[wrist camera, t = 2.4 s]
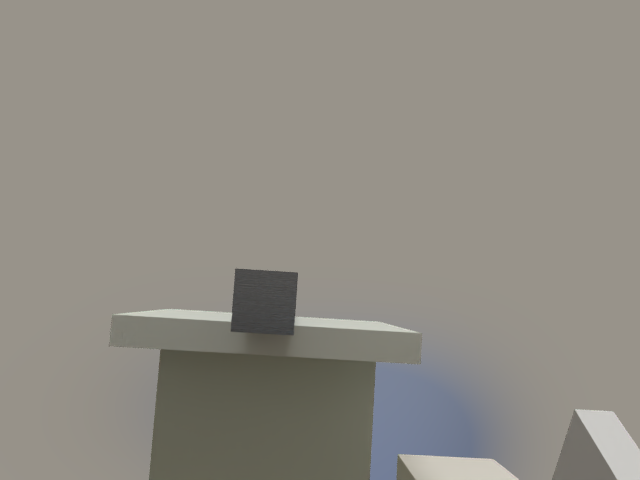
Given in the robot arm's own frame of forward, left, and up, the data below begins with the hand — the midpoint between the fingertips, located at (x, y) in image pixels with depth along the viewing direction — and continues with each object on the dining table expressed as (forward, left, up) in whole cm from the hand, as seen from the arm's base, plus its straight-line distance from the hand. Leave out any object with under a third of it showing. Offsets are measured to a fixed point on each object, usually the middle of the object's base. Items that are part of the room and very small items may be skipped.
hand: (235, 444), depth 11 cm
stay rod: (-10, +27, +1) cm, 29 cm away
